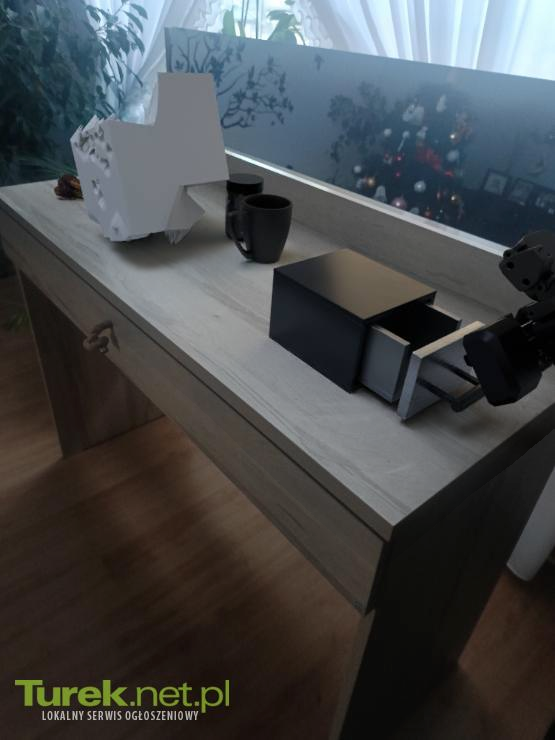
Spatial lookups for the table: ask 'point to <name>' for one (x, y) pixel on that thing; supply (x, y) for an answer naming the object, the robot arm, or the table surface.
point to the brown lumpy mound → (68, 186)
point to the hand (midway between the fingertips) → (466, 360)
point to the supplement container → (240, 197)
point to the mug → (262, 226)
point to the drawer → (418, 359)
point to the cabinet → (336, 309)
